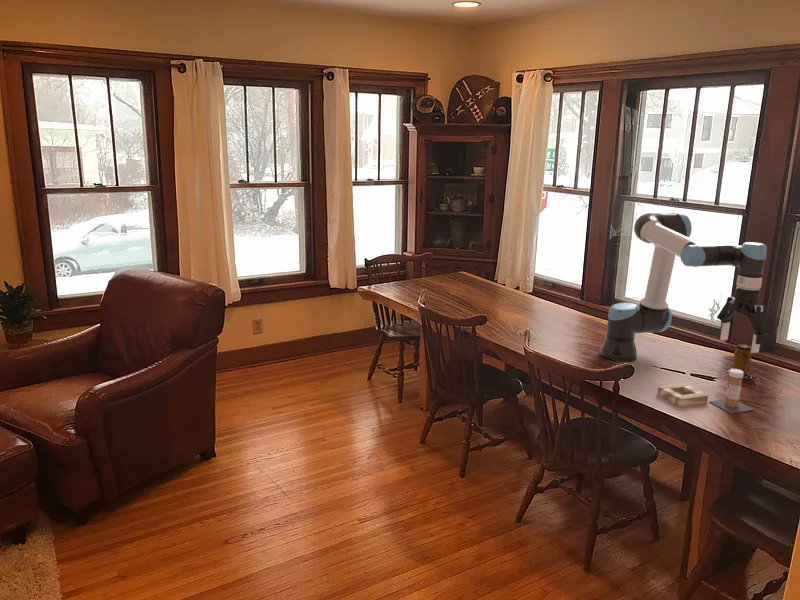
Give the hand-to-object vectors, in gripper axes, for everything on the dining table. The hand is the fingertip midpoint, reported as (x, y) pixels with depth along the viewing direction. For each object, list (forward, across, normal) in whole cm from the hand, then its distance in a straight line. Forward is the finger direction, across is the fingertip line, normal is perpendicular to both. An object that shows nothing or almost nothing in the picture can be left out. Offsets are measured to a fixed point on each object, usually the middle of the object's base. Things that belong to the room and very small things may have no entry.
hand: (738, 346), depth 219 cm
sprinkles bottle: (+22, +1, 0) cm, 23 cm away
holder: (+23, -10, -12) cm, 28 cm away
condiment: (+23, -23, +29) cm, 43 cm away
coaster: (+23, +1, 0) cm, 23 cm away
